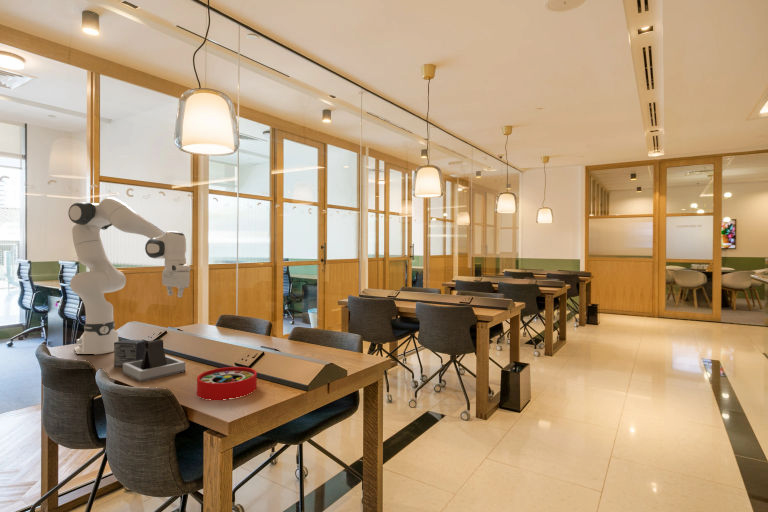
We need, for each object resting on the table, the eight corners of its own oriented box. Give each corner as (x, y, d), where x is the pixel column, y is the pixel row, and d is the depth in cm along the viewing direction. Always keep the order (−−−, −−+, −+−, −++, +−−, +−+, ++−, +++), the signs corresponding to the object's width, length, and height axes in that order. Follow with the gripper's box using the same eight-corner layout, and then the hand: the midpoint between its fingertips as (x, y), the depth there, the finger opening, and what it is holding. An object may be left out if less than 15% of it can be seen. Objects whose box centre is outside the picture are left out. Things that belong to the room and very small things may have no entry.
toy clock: (265, 368, 158) (240, 385, 138) (265, 383, 158) (240, 403, 138) (216, 365, 160) (184, 382, 141) (216, 380, 161) (184, 399, 141)
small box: (147, 363, 182) (147, 339, 182) (136, 368, 175) (136, 343, 175) (124, 362, 183) (124, 339, 183) (113, 367, 176) (113, 342, 176)
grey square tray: (122, 373, 168) (122, 363, 168) (166, 364, 181) (166, 355, 181) (140, 382, 157) (140, 371, 157) (185, 371, 171) (185, 362, 170)
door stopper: (140, 370, 169) (140, 340, 169) (155, 366, 174) (154, 337, 174) (153, 373, 164) (153, 343, 164) (167, 369, 170) (167, 340, 169)
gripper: (158, 265, 196) (158, 294, 197) (178, 267, 183) (178, 298, 184) (172, 265, 201) (171, 293, 202) (192, 267, 188) (192, 297, 189)
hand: (175, 296), depth 193 cm, fingers open, 8 cm apart
